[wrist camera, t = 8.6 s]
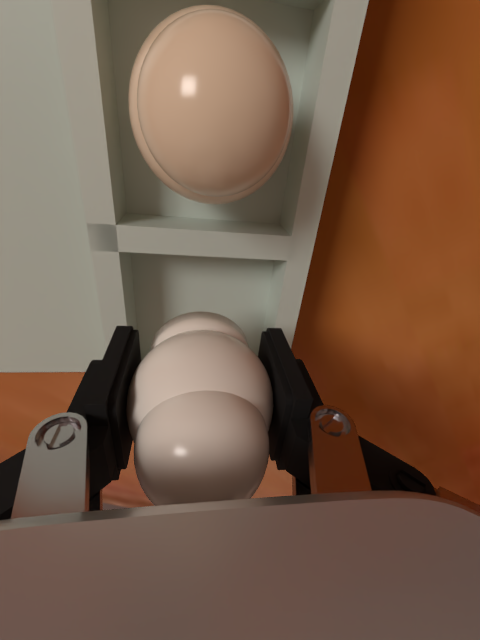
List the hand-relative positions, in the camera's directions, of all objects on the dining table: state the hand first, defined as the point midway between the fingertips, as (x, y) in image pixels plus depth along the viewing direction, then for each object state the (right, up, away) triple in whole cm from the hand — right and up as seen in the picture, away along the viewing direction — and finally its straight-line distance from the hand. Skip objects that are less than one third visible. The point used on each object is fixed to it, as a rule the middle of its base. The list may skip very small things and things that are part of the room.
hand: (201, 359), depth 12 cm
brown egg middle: (0, +9, -1) cm, 9 cm away
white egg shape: (0, 0, 0) cm, 0 cm away
